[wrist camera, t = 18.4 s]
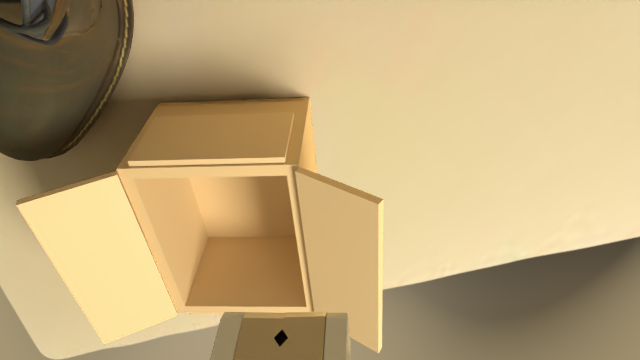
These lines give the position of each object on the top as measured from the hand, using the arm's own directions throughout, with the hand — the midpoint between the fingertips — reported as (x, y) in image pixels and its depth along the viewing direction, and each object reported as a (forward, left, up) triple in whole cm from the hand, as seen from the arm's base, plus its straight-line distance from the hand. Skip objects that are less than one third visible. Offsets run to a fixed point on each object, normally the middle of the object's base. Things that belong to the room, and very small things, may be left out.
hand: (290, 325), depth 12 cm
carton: (+10, +20, -31) cm, 38 cm away
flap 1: (+16, +20, -21) cm, 33 cm away
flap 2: (+3, +20, -21) cm, 29 cm away
